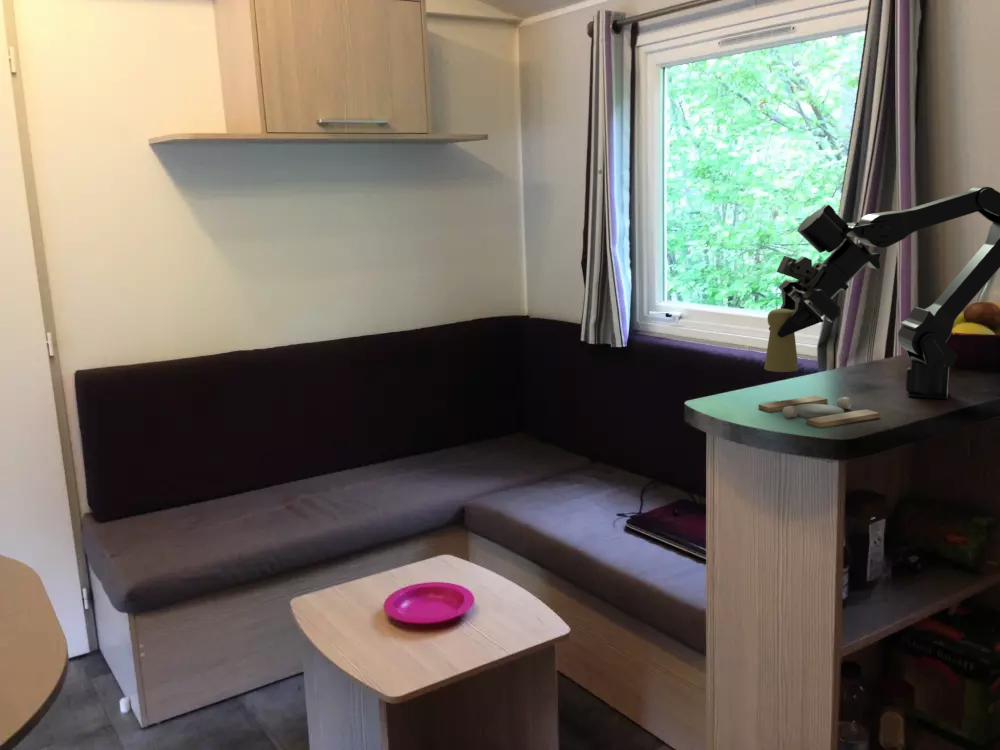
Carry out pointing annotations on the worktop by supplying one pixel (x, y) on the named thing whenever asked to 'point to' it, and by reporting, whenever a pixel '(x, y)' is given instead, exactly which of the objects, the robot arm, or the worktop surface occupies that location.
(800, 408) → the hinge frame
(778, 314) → the cork
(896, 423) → the worktop surface
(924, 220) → the robot arm
